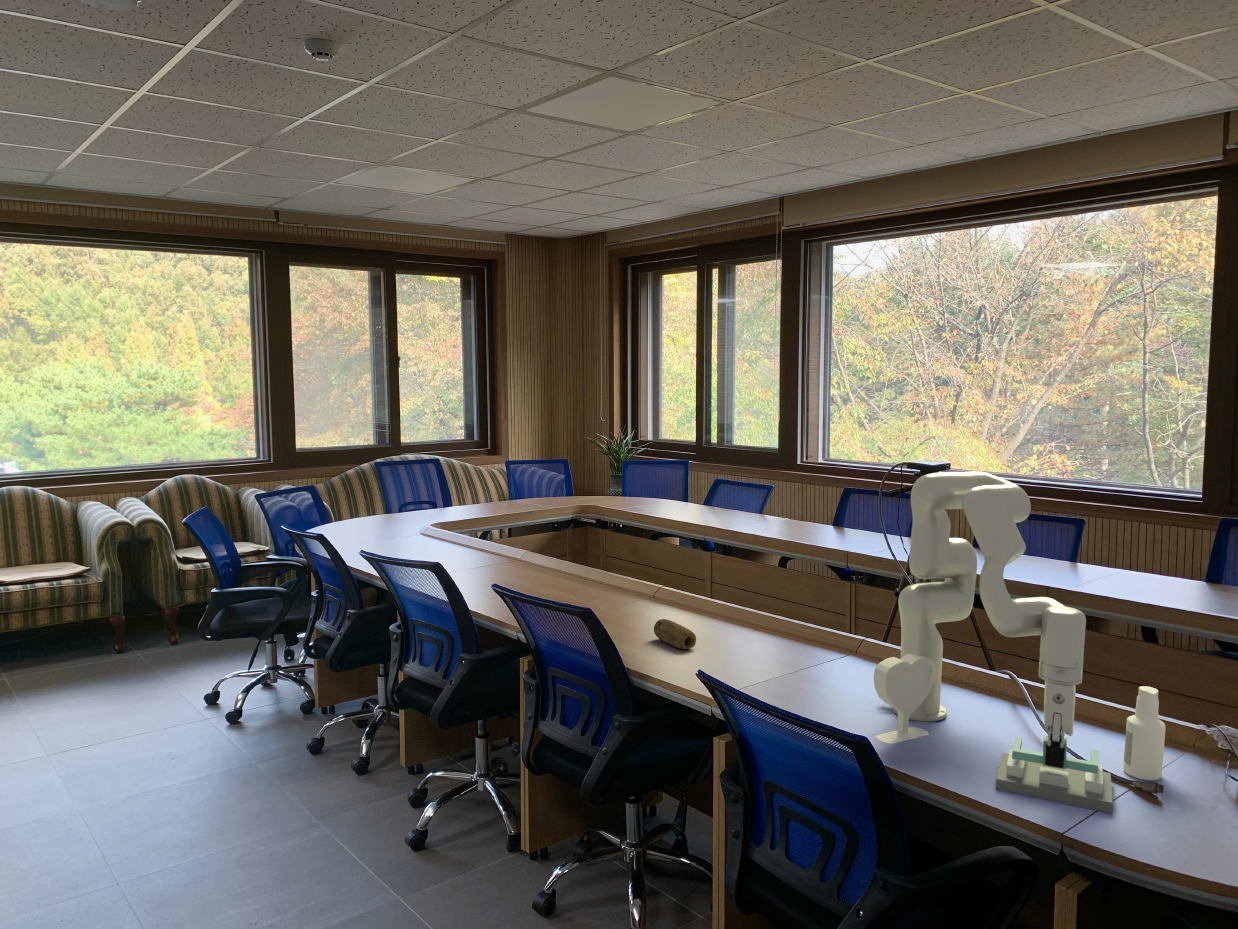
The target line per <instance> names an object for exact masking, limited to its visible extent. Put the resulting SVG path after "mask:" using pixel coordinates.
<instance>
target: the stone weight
mask: <svg viewBox="0 0 1238 929" xmlns="http://www.w3.org/2000/svg"><path fill="white" fill-rule="evenodd" d="M653 633H654V635H655V637H657V638H658V639H659V640H661V641H662V642H664V643H666V644H668V645H670V646H672V647H674V648H678V649H681V650H688V649H692V648H694V647H695V645H696V643H697V636H696V634H695V633H694V631H692V630H690V629H689V628H688V627H686V626H683V625H681V624H679V623H677V622H675V621H672V620H671V619H666V618H662V619H659V620H657V621H656V622H655V624H654V626H653Z"/></svg>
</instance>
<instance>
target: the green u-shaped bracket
mask: <svg viewBox="0 0 1238 929" xmlns="http://www.w3.org/2000/svg"><path fill="white" fill-rule="evenodd" d="M1042 743H1043V745H1042V746H1043V750H1042V752H1040V751H1035V750H1034V751H1033V750H1026V749H1023V748H1022V746H1023V738H1022V737H1018V736H1015V739H1014V744H1013V748H1012V749H1013V750H1012V759H1017V760H1023V761H1028V762H1034V763H1040V764H1043V766H1048V765H1046V764H1045V756H1046V744H1048V735H1044V736H1043V742H1042ZM1060 745H1061V743H1060ZM1063 747H1064V748H1065V752H1064V766H1063V768H1060V769H1065V770H1066V768H1068V769H1073V770H1079V771H1084V772H1090V773H1095V774H1098V765H1099V750H1095V749H1090V750H1091V752H1090V760H1086V759H1078V758H1074V757H1068V756H1067V752H1068V749H1067V747H1068V739H1067V738H1064V745H1063ZM1048 767H1053V766H1048ZM1054 768H1058V767H1054Z"/></svg>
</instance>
